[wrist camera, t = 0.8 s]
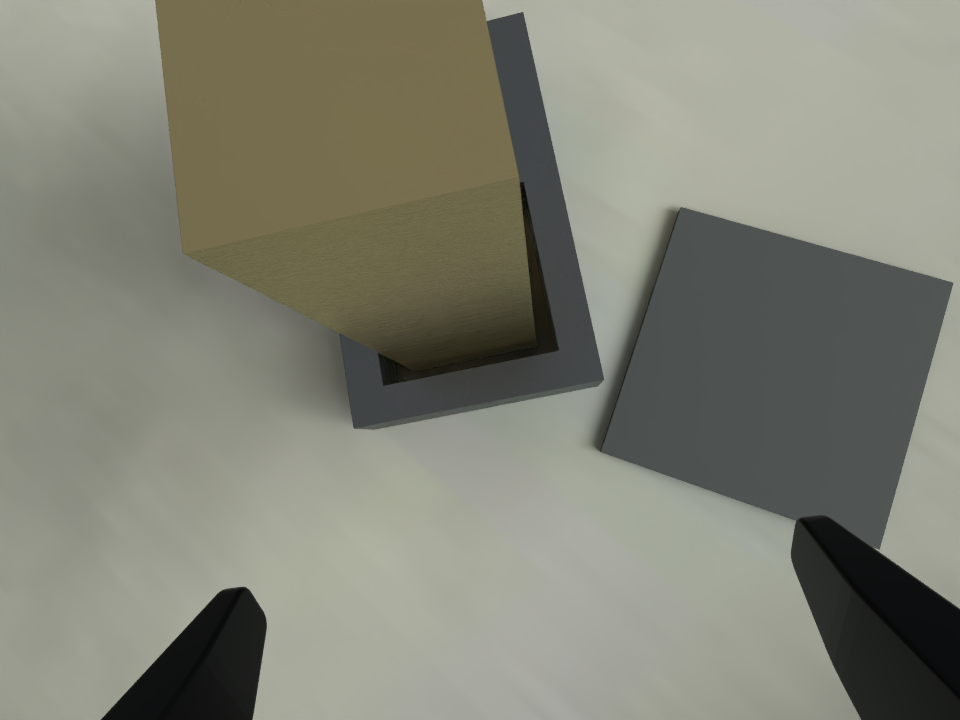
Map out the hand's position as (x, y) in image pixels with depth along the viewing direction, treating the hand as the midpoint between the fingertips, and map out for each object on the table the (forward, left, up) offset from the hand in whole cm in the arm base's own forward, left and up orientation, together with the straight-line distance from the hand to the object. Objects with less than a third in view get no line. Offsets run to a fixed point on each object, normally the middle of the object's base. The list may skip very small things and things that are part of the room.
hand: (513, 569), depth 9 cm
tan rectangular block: (+6, +5, -13) cm, 15 cm away
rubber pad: (+7, -7, -13) cm, 16 cm away
